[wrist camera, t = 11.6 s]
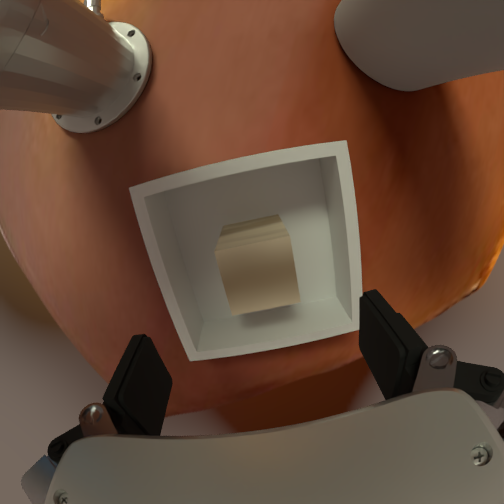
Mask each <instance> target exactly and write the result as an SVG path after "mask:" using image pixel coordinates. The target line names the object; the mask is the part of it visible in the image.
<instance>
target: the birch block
mask: <svg viewBox="0 0 504 504" xmlns="http://www.w3.org/2000/svg"><path fill="white" fill-rule="evenodd" d="M214 253H215V256H216V260H217V264H218V267H219V271H220V275H221V278H222V282H223V285H224V289H225V292H226V296H227V299H228V303H229V306H230V310H231V313H232V316H233V315H238V314H244V313H249V312H255V311H260V310H265V309H270V308H275V307H280V306H285V305H290V304H295V303H299V302H301V301H300V294H299V288H298V282H297V275H296V269H295V263H294V257H293V251H292V245H291V239H290V235H289V233H288V231H287V230H286V228H285V226H284V224H283V222H282V220H281V218H280V217H279V215H278V214H276V215H272V216H267V217H262V218H257V219H252V220H247V221H243V222H238V223H233V224H229V225H224V226H223V228H222V230H221V233H220V236H219V239H218V242H217V245H216V248H215V251H214Z"/></svg>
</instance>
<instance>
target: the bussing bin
mask: <svg viewBox="0 0 504 504" xmlns="http://www.w3.org/2000/svg"><path fill="white" fill-rule="evenodd" d="M129 191H130V195H131V198H132V202H133V206H134V209H135V213H136V216H137V220H138V223H139V227H140V230H141V233H142V237H143V240H144V243H145V246H146V249H147V252H148V255H149V258H150V261H151V264H152V267H153V270H154V273H155V276H156V279H157V282H158V284H159V287H160V290H161V293H162V295H163V298H164V300H165V303H166V306H167V308H168V311H169V313H170V316H171V318H172V321H173V323H174V326H175V328H176V331H177V333H178V335H179V338H180V340H181V342H182V345H183V347H184V349H185V351H186V354H187V356H188V358H189V360H190V361H197V360H206V359H214V358H222V357H229V356H236V355H243V354H249V353H255V352H261V351H267V350H272V349H277V348H283V347H288V346H293V345H297V344H302V343H307V342H311V341H316V340H320V339H324V338H328V337H332V336H336V335H340V334H344V333H348V332H352V331H356V330H359V298H360V297H361V296H362V272H361V253H360V240H359V228H358V218H357V208H356V200H355V192H354V184H353V177H352V171H351V164H350V158H349V152H348V147H347V141H346V140H345V141H337V142H329V143H321V144H314V145H307V146H300V147H294V148H288V149H282V150H277V151H271V152H266V153H260V154H255V155H250V156H246V157H241V158H236V159H232V160H227V161H223V162H219V163H214V164H210V165H206V166H202V167H198V168H194V169H191V170H187V171H183V172H179V173H176V174H172V175H169V176H165V177H162V178H158V179H155V180H152V181H149V182H145V183H142V184H139V185H136V186H133V187H130V188H129ZM276 214H278V215H279V217H280V218H281V220H282V222H283V224H284V226H285V228H286V230H287V231H288V233H289V235H290V239H291V245H292V251H293V257H294V263H295V269H296V275H297V282H298V288H299V294H300V301H301V302H299V303H295V304H290V305H285V306H280V307H275V308H270V309H265V310H260V311H255V312H249V313H244V314H238V315H233V316H232V313H231V310H230V306H229V303H228V299H227V296H226V292H225V289H224V285H223V282H222V278H221V275H220V271H219V267H218V264H217V260H216V256H215V253H214V251H215V248H216V245H217V242H218V239H219V236H220V233H221V230H222V228H223V226H224V225H229V224H233V223H238V222H243V221H247V220H252V219H257V218H262V217H267V216H272V215H276Z"/></svg>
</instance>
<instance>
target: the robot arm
mask: <svg viewBox="0 0 504 504" xmlns="http://www.w3.org/2000/svg"><path fill="white" fill-rule="evenodd" d="M100 10H101V0H85V1H84V4H83V3H81V2H80V1H79V0H0V109H4V110H19V111H31V112H41V113H49V114H52V117H53V118H54V120H55V121H56V123H57V124H59V125H60V126H61V127H62V128H64V129H66V130H68V131H70V132H76V133H90V132H96V131H99V130H101V129H104V128H106V127H108V126H109V125H111V124H113V123H114V122H116V121H117V120H118V119H120V118H121V117H122V116H123V115H125V114H126V113H127V111H128V110H129V109H130V108H131V107H132V106H133V105H134V104H135V102H136V101H137V99H138V98H139V96H140V95H141V93H142V91H143V89H144V88H145V86H146V84H147V81H148V78H149V75H150V72H151V65H152V51H151V47H150V44H149V41H148V40H147V38H146V36H145V35H144V34H143V33H142V32H141V31H140V30H139V29H138V28H136V27H135V26H133V25H131V24H128V23H125V22H109V23H108V22H106V21H105V20H104V16H103V14H101V13H100ZM139 78H141V79H140V80H139ZM138 80H139V81H138ZM101 120H102V122H101ZM359 347H360V351H361V353H362V354H363V356H364V358H365V360H366V362H367V364H368V366H369V368H370V370H371V372H372V374H373V376H374V378H375V380H376V381H377V384H378V386H379V388H380V390H381V391H382V394H383V395H384V398H385V401H382V402H379V403H376V404H373V405H369V406H366V407H363V408H360V409H357V410H353V411H349V412H345V413H342V414H338V415H334V416H331V417H327V418H322V419H318V420H314V421H309V422H305V423H300V424H295V425H290V426H285V427H278V428H272V429H265V430H258V431H250V432H241V433H231V434H219V435H201V436H160V433H161V429H162V425H163V421H164V416H165V412H166V408H167V404H168V400H169V395H170V391H171V387H172V378H171V376H170V374H169V372H168V371H167V369H166V367H165V365H164V363H163V361H162V359H161V358H160V356H159V354H158V352H157V350H156V348H155V346H154V344H153V342H152V340H151V338H150V337H147V336H146V335H145V334H142V335H134V336H133V337H132V338H131V340H130V342H129V344H128V346H127V348H126V350H125V352H124V354H123V356H122V358H121V360H120V362H119V364H118V366H117V368H116V370H115V372H114V375H113V377H112V379H111V381H110V383H109V385H108V387H107V389H106V392H105V394H104V396H103V400H104V402H103V404H101V403H92V404H89V405H87V406H86V407H84V408H83V409H82V411H81V412H80V415H79V423H80V424H79V425H77V426H76V427H74V428H73V429H71V430H69V431H67V432H66V433H64V434H62V435H60V436H59V437H57V438H55V439H54V440H52V442H51V443H50V444H49V446H48V456H46V455H44V456H43V457H41V458H40V460H38V461H37V462H36V463H35V464H34V465H33V466H32V467H31V468H30V469H29V470H28V471H27V472H26V473H25V474H24V475H23V477H22V480H21V485H22V488H23V489H24V491H25V493H26V494H27V496H28V498H29V499H30V501H31V502H32V504H504V373H503V372H502V371H501V370H499V369H497V368H494V367H488V366H482V365H476V364H471V363H465V362H460V361H457V356H456V354H455V352H454V351H453V350H452V349H451V348H449V347H447V346H444V345H435V346H431V347H429V348H428V346H427V345H426V344H425V343H424V341H423V340H422V339H421V338H420V336H419V335H418V334H417V333H416V332H415V330H414V329H413V328H412V327H411V325H410V324H409V323H408V322H407V321H406V319H405V318H404V317H403V316H402V315H401V314H400V313H396V312H395V311H394V310H393V308H392V307H391V306H390V305H389V304H388V302H387V301H386V300H385V299H384V298H383V297H382V295H381V294H380V293H379V292H378V291H377V290H376V289H374V290H370V291H367V292H364V293H363V296H361V297H360V298H359Z"/></svg>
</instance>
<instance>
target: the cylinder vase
mask: <svg viewBox="0 0 504 504" xmlns="http://www.w3.org/2000/svg"><path fill="white" fill-rule="evenodd" d="M334 26H335V31H336V35H337V38H338V40H339V42H340V44H341V46H342V48H343V49H344V51H345V53H346V54H347V55H348V57H349V58H350V59H351V60H352V62H353V63H354V64H355V65H356V66H357V67H358V68H359V69H360V70H362V71H363V72H364V73H365V74H366V75H368V76H369V77H371V78H372V79H374V80H375V81H377V82H379V83H380V84H382V85H385V86H387V87H390V88H392V89H396V90H401V91H416V90H420V89H424V88H427V87H431V86H434V85H438V84H442V83H445V82H449V81H453V80H457V79H461V78H466V77H470V76H475V75H479V74H484V73H489V72H495V71H500V70H504V0H342V1H341V2H340V4H339V5H338V7H337V9H336V12H335V16H334Z"/></svg>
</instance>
